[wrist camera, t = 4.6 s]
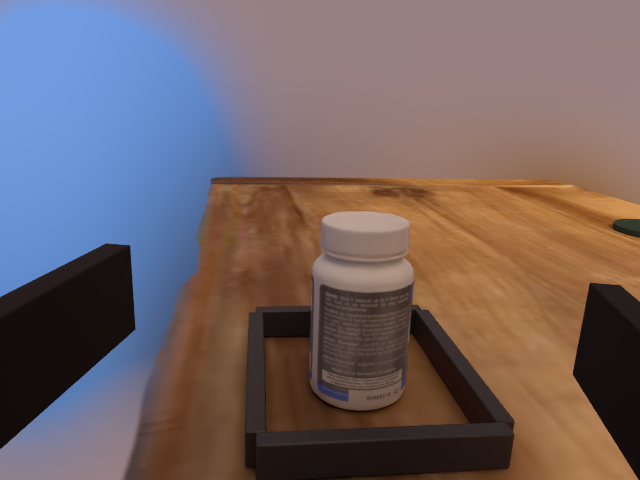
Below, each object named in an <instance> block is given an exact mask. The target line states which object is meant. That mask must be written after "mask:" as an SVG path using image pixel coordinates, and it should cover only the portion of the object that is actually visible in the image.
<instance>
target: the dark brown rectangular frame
mask: <svg viewBox="0 0 640 480" xmlns="http://www.w3.org/2000/svg"><path fill="white" fill-rule="evenodd" d="M310 325H311V306H277V307H256V312H250V313H249V329H248V358H247V388H246V417H245V466H246V467H256V480H299V479H318V478H336V477H355V476H374V475H392V474H411V473H430V472H449V471H467V470H486V469H505V468H509V465H510V459H511V452H512V446H513V440H514V433H513V428H514V419H513V418H512V417H511V416H510V414H509V413H508V412H507V411H506V409H505V408H504V407H503V405H502V404H501V403H500V402H499V400H498V399H497V398H496V396H495V395H494V394H493V393H492V391H491V390H490V389H489V387H488V386H487V385H486V384H485V382H484V381H483V380H482V378H481V377H480V376H479V375H478V373H477V372H476V371H475V369H474V368H473V367H472V366H471V364H470V363H469V362H468V361H467V359H466V358H465V357H464V355H463V354H462V353H461V352H460V350H459V349H458V348H457V346H456V345H455V344H454V343H453V341H452V340H451V339H450V337H449V336H448V335H447V334H446V332H445V331H444V330H443V328H442V327H441V326H440V325H439V323H438V322H437V321H436V320H435V318H434V317H433V316H432V314H431V313H430V312H429V311H428V310H421V309H420V307H419V306H418V305H412V308H411V321H410V334H414V335H415V337H416V338H417V340H418V342H419V343H420V345H421V346H422V348H423V349H424V351H425V352H426V354H427V356H428V357H429V359H430V360H431V362H432V363H433V365H434V366H435V368H436V370H437V371H438V373H439V374H440V376H441V377H442V379H443V380H444V382H445V384H446V385H447V387H448V388H449V390H450V391H451V393H452V394H453V396H454V397H455V399H456V401H457V402H458V404H459V405H460V407H461V408H462V410H463V411H464V413H465V415H466V416H467V418H468V419H469V421H470V422H471V424H451V425H427V426H403V427H380V428H356V429H332V430H309V431H285V432H267V431H266V396H265V362H264V337H269V336H310Z"/></svg>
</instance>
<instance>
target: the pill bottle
mask: <svg viewBox="0 0 640 480" xmlns="http://www.w3.org/2000/svg"><path fill="white" fill-rule="evenodd" d="M409 232H410V223H409V221H408V220H406V219H405V218H403V217H400V216H397V215H392V214H387V213H379V212H368V211H351V212H339V213H334V214H330V215H327V216H325V217H324V218H323V219H322V221H321V240H320V242H321V250H322V251H323V252H324V254H322V255H321V256H319V257H318V258H317V259H316V261H315V262H314V264H313V268H312V278H311V325H310V355H309V381H310V385H311V388H312V390H313V391H314V392H315V393H316V395H317V396H319V397H320V398H321V399H322V400H324V401H325V402H327V403H329V404H331V405H333V406H336V407H339V408H342V409H347V410H356V411H365V410H374V409H379V408H382V407H385V406H388V405H390V404H392V403H394V402H395V401H397V400H398V399H399V398H400V397H401V395H402V394H403V391H404V388H405V381H406V371H407V356H408V346H409V334H410V321H411V308H412V297H413V286H414V271H413V268H412V266H411V264H410V263H409V262H408V261H407V260H406V259H405V258H403V257H404V256H406V255H407V253H408V248H409Z"/></svg>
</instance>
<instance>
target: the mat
mask: <svg viewBox="0 0 640 480" xmlns="http://www.w3.org/2000/svg"><path fill="white" fill-rule="evenodd" d="M613 228H614V229H615V230H617V231H620V232H622V233H625V234H629V235H633V236H637V237H640V219H619V220H615V221H614V223H613Z"/></svg>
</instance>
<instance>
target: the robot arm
mask: <svg viewBox="0 0 640 480" xmlns="http://www.w3.org/2000/svg"><path fill="white" fill-rule="evenodd" d="M134 330H135V317H134V301H133V284H132V269H131V254H130V245H118V244H104V245H102V246H101V247H99V248H97V249H94V250H92V251H91V252H89V253H87V254H85V255H83V256H81V257H79V258H77V259H75V260H73V261H71V262H69V263H67V264H65V265H63V266H61V267H59V268H57V269H55V270H53V271H51V272H49V273H47V274H45V275H43V276H41V277H39V278H37V279H35V280H33V281H31V282H30V283H27V284H25V285H23V286H21V287H19V288H17V289H16V290H13V291H11V292H9V293H7V294H6V295H3V296H2V297H0V449H1V448H2V447H3V446H4V445H6V444H7V443H8V442H9V441H10V440H11V439H12V438H13V437H15V436H16V435H17V434H18V433H19V432H20V431H21V430H22V429H23V428H25V427H26V426H27V425H28V424H29V423H30V422H31V421H33V419H35V418H36V417H37V416H38V415H39V414H40V413H42V412H43V411H44V410H45V409H46V408H47V407H48V406H50V404H51V403H53V402H54V401H55V400H56V399H57V398H59V397H60V396H61V395H62V394H63V393H64V392H65V391H66V390H68V388H70V387H71V386H72V385H73V384H74V383H75V382H77V381H78V380H79V379H80V378H81V377H82V376H83V375H84V374H86V373H87V372H88V371H89V370H90V369H91V368H92V367H93V366H94V365H96V364H97V363H98V362H99V361H100V360H101V359H102V358H104V357H105V356H106V355H107V354H108V353H109V352H110V351H111V350H113V349H114V348H115V347H116V346H117V345H118V344H119V343H120V342H122V341H123V340H124V339H125V338H126V337H127V336H128V335H129V334H130V333H132V332H133V331H134ZM573 376H574V377H575V379H576V381H577V382H578V384H579V385H580V387H581V388H582V390H583V392H584V393H585V395H586V396H587V398H588V400H589V401H590V403H591V404H592V406H593V408H594V409H595V411H596V412H597V414H598V416H599V417H600V419H601V420H602V422H603V424H604V425H605V427H606V428H607V430H608V432H609V433H610V435H611V436H612V438H613V440H614V441H615V443H616V444H617V446H618V448H619V449H620V451H621V452H622V454H623V455H624V457H625V459H626V460H627V462H628V463H629V465H630V467H631V468H632V470H633V471H634V473H635V475H636V476H637V478H638V479H639V480H640V302H639V301H638V300H637V299H636V298H634V297H633V296H632V295H631V294H630V293H629V292H627V291H626V290H625V289H624V288H623V287H622V286H620V285H610V284H598V283H590V285H589V291H588V296H587V301H586V306H585V312H584V317H583V322H582V327H581V333H580V338H579V343H578V349H577V354H576V359H575V364H574V370H573Z"/></svg>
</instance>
